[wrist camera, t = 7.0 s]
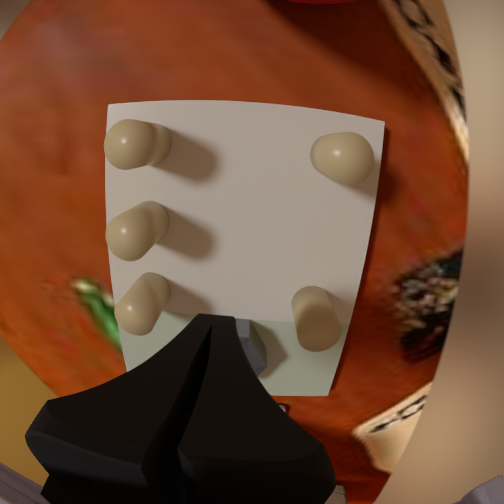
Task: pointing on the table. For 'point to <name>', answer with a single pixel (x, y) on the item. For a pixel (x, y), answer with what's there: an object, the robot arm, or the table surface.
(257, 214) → the board
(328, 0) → the ceramic cup
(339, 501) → the syrup box
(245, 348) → the grey faceted polyhedron
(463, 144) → the table surface
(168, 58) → the table surface
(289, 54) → the table surface
